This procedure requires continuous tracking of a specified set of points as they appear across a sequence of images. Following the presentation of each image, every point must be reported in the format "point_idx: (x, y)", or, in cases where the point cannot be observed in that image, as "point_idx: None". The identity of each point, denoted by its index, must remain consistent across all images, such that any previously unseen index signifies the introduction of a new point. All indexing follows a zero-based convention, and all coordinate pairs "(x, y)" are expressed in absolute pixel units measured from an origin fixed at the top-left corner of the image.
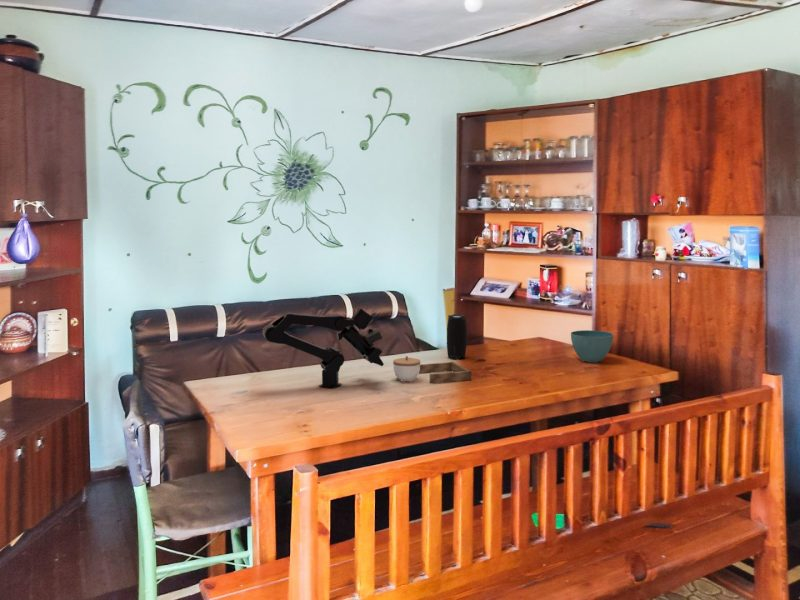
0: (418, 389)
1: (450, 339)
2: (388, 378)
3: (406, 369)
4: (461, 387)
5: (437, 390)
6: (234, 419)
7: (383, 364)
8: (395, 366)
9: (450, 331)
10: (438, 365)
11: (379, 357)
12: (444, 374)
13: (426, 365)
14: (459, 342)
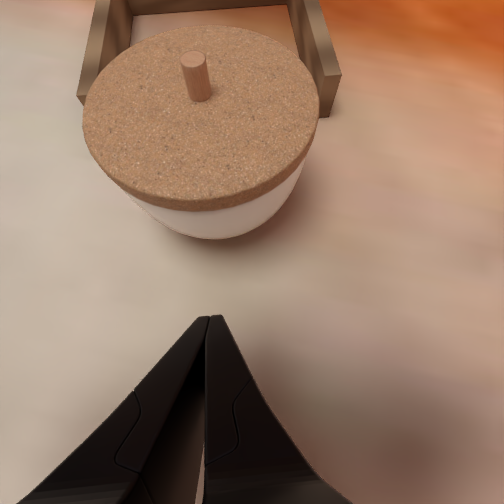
0: (438, 186)
1: None
2: (158, 281)
3: (305, 158)
4: (404, 40)
5: (456, 119)
6: None
7: (223, 320)
8: (238, 213)
9: None
10: (113, 16)
11: (260, 395)
12: (325, 28)
13: (104, 52)
14: None
